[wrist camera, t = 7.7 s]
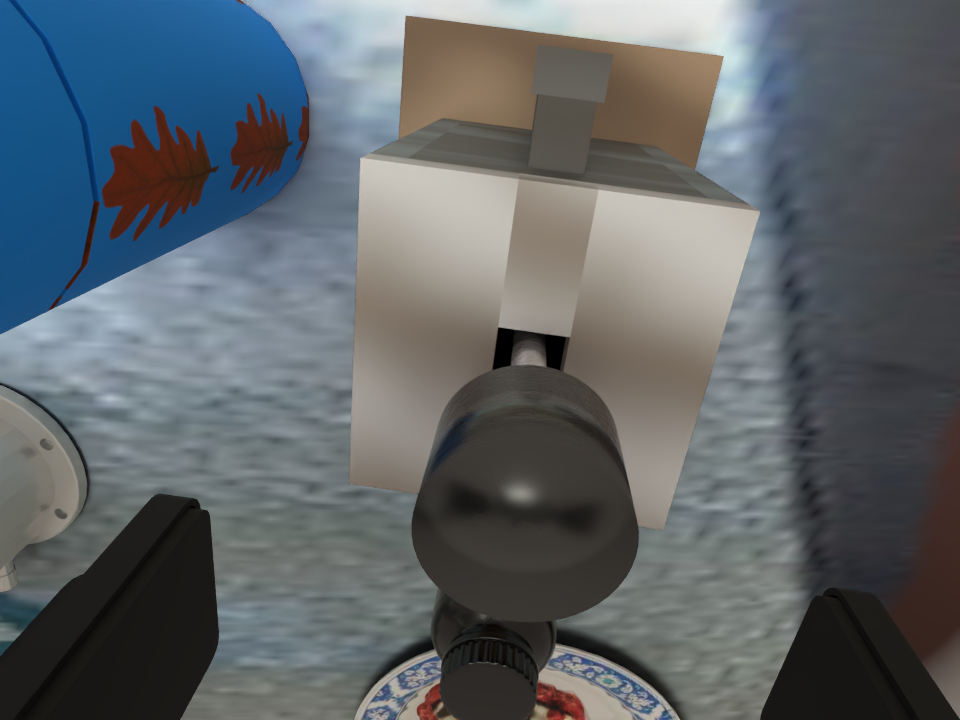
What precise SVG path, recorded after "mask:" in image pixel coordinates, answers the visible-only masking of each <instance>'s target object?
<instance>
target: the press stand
mask: <svg viewBox="0 0 960 720" xmlns="http://www.w3.org/2000/svg"><path fill="white" fill-rule="evenodd" d="M723 57H724V56H718V55H710V54H702V53H694V52H686V51H678V50H671V49H663V48H655V47H647V46H639V45H631V44H624V43H616V42H608V41H600V40H592V39H584V38H577V37H569V36H561V35H553V34H545V33H537V32H530V31H522V30H514V29H506V28H498V27H490V26H483V25H475V24H467V23H459V22H451V21H443V20H436V19H428V18H420V17H412V16H406V21H405V39H404V56H403V73H402V90H401V107H400V124H399V139H398V140H396V141H394V142H392V143H390V144H388V145H386V146H384V147H382V148H380V149H378V150H376V151H374V152H372V153H369V154H367V155H365V156H363V157H361V158H360V183H359V212H358V241H357V270H356V299H355V328H354V356H353V385H352V414H351V443H350V472H349V484H355V485H362V486H368V487H375V488H382V489H389V490H395V491H402V492H409V493H416V494H419V490H420V487H421V483H422V480H423V476H424V473H425V469H426V466H427V462H428V459H429V455H430V451H431V448H432V444H433V441H434V437H435V434H436V430H437V427H438V423H439V420H440V417H441V415H442V413H443V411H444V409H445V407H446V405H447V404H448V402H449V401H450V399H451V398H452V397H453V396H454V395H455V394H456V392H457V391H458V390H459V389H460V388H462V387H463V386H464V385H465V384H467V383H468V382H469V381H471V380H473V379H474V378H476V377H478V376H479V375H482V374H484V373H486V372H489V371H491V370H495V369H498V368H502V367H507V366H511V358H512V347H513V336H514V330H521V331H529V332H536V333H543V334H546V366H547V367H548V368H553V369H556V370H559V371H562V372H565V373H567V374H569V375H571V376H574V377H576V378H577V379H579V380H580V381H582V382H584V383H585V384H587V385H588V386H589V387H590V388H591V389H592V390H594V391H595V392H596V393H597V394H598V395H599V397H600V398H601V399H602V400H603V401H604V403H605V404H606V406H607V407H608V409H609V410H610V412H611V414H612V417H613V419H614V421H615V425H616V428H617V432H618V436H619V441H620V445H621V450H622V454H623V459H624V463H625V468H626V472H627V477H628V481H629V486H630V490H631V495H632V499H633V504H634V508H635V513H636V518H637V523H638V526H639V527H646V528H652V529H659V530H663V529H664V525H665V522H666V519H667V516H668V512H669V509H670V506H671V503H672V499H673V496H674V493H675V489H676V486H677V483H678V480H679V476H680V473H681V470H682V466H683V463H684V460H685V457H686V453H687V450H688V447H689V444H690V440H691V437H692V434H693V430H694V427H695V424H696V421H697V417H698V414H699V411H700V407H701V404H702V401H703V398H704V394H705V391H706V388H707V385H708V381H709V378H710V375H711V371H712V368H713V365H714V362H715V358H716V355H717V352H718V348H719V345H720V342H721V339H722V335H723V332H724V329H725V326H726V322H727V319H728V316H729V312H730V309H731V306H732V303H733V299H734V296H735V293H736V289H737V286H738V283H739V280H740V276H741V273H742V270H743V267H744V263H745V260H746V257H747V253H748V250H749V247H750V244H751V240H752V237H753V234H754V230H755V227H756V224H757V221H758V217H759V214H760V211H759V210H757V209H756V208H754V207H752V206H751V205H749V204H748V203H746V202H744V201H743V200H741V199H740V198H738V197H736V196H735V195H733V194H732V193H730V192H728V191H727V190H725V189H724V188H722V187H720V186H719V185H717V184H716V183H714V182H712V181H711V180H709V179H708V178H706V177H705V176H703V175H701V174H700V173H698V172H697V171H695V167H696V163H697V159H698V155H699V151H700V147H701V144H702V140H703V136H704V132H705V128H706V124H707V120H708V116H709V112H710V108H711V104H712V100H713V96H714V92H715V88H716V84H717V81H718V77H719V73H720V69H721V65H722V61H723Z"/></svg>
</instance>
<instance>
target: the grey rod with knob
mask: <svg viewBox="0 0 960 720" xmlns="http://www.w3.org/2000/svg"><path fill="white" fill-rule="evenodd" d="M412 539H413V545H414V549H415V552H416V555H417V558H418V560H419V562H420V564H421V566H422V568H423V569H424V571H425V572H426V573H427V575H428V576H429V578H430V579H431V580H432V581H433V582H434V583H435V585H436V586H437V587H438V588H439V589H441V590H442V591H443V592H444V593H445V594H446V595H448V596H449V597H450V598H452V599H453V600H455V601H456V602H458V603H459V604H461V605H463V606H465V607H467V608H469V609H471V610H473V611H476V612H478V613H480V614H483V615H486V616H490V617H493V618H497V619H502V620H507V621H515V622H544V621H552V620H557V619H563V618H566V617H569V616H573V615H576V614H578V613H581V612H583V611H585V610H588V609H589V608H591V607H593V606H595V605H597V604H598V603H600V602H601V601H603V600H604V599H605V598H607V597H608V596H609V595H610V594H611V593H612V592H614V591H615V590H616V589H617V588H618V587H619V585H620V584H621V583H622V582H623V580H624V579H625V578H626V576H627V574H628V573H629V571H630V569H631V567H632V565H633V562H634V560H635V557H636V553H637V548H638V540H639V530H638V523H637V518H636V513H635V508H634V504H633V499H632V495H631V490H630V486H629V481H628V477H627V472H626V468H625V463H624V459H623V454H622V450H621V445H620V441H619V436H618V432H617V428H616V425H615V421H614V419H613V417H612V414H611V412H610V410H609V409H608V407H607V406H606V404H605V403H604V401H603V400H602V399H601V398H600V397H599V395H598V394H597V393H596V392H595V391H594V390H592V389H591V388H590V387H589V386H588V385H587V384H585V383H584V382H582V381H580V380H579V379H577V378H576V377H574V376H571V375H569V374H567V373H565V372H562V371H559V370H556V369H553V368H548V367H547V366H546V334H543V333H536V332H529V331H521V330H514V336H513V347H512V358H511V366H507V367H502V368H498V369H495V370H491V371H489V372H486V373H484V374H482V375H479V376H478V377H476V378H474V379H473V380H471V381H469V382H468V383H467V384H465V385H464V386H463V387H462V388H460V389H459V390H458V391H457V392H456V394H455V395H454V396H453V397H452V398H451V399H450V401H449V402H448V404H447V405H446V407H445V409H444V411H443V413H442V415H441V417H440V420H439V423H438V427H437V430H436V434H435V437H434V441H433V444H432V448H431V451H430V455H429V459H428V462H427V466H426V469H425V473H424V476H423V480H422V483H421V487H420V490H419V494H418V498H417V501H416V505H415V508H414V512H413V518H412Z"/></svg>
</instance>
